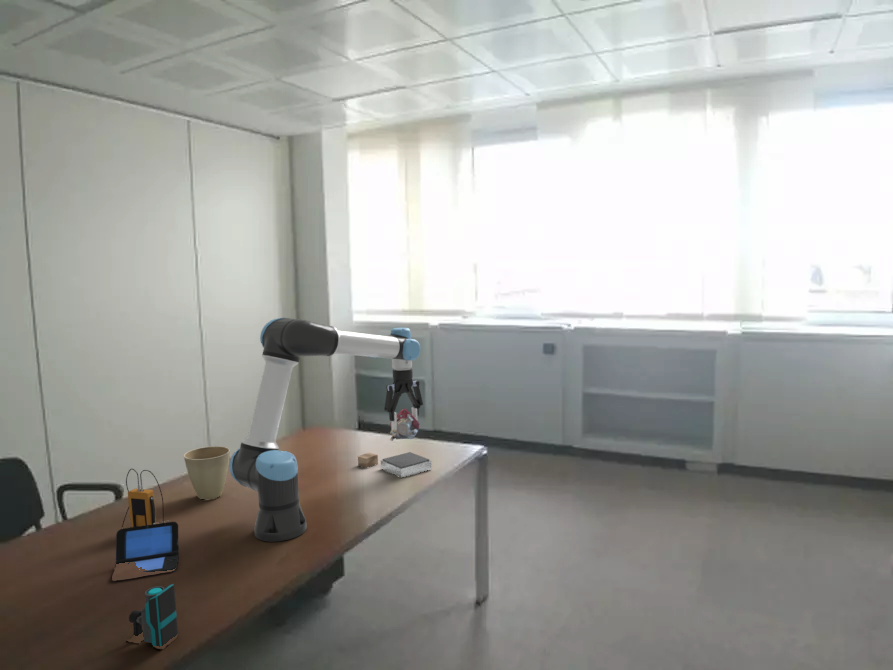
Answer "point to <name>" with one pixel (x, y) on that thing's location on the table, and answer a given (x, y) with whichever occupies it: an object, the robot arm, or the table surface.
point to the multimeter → (142, 505)
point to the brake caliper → (405, 426)
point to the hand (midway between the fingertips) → (404, 426)
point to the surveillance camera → (157, 616)
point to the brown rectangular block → (367, 459)
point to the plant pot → (208, 470)
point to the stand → (406, 464)
